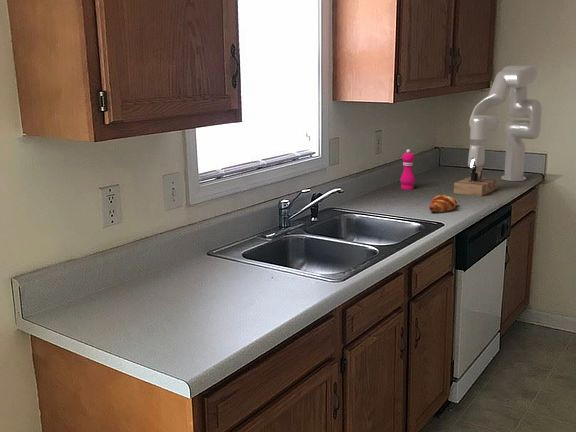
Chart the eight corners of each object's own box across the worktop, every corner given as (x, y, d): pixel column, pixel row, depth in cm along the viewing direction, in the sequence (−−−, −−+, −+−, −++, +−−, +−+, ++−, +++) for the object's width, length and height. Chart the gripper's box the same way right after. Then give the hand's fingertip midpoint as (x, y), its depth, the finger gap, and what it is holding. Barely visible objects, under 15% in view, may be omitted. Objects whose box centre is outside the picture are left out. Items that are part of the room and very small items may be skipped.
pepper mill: (415, 189, 325) (416, 150, 320) (401, 190, 325) (402, 150, 320) (413, 187, 332) (414, 148, 327) (399, 187, 332) (399, 148, 327)
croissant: (449, 211, 293) (442, 195, 294) (468, 204, 286) (461, 187, 287) (425, 219, 278) (418, 202, 279) (444, 212, 271) (437, 194, 272)
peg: (473, 186, 321) (474, 162, 318) (481, 186, 319) (482, 162, 316) (469, 187, 318) (470, 163, 315) (478, 188, 316) (479, 164, 313)
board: (469, 186, 331) (470, 176, 330) (496, 189, 322) (497, 179, 321) (453, 193, 315) (454, 183, 314) (481, 196, 307) (482, 185, 306)
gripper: (477, 140, 322) (475, 176, 326) (463, 144, 309) (461, 182, 313) (491, 141, 317) (489, 178, 322) (478, 145, 305) (476, 183, 309)
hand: (476, 179), depth 318 cm, fingers closed on peg, 4 cm apart
